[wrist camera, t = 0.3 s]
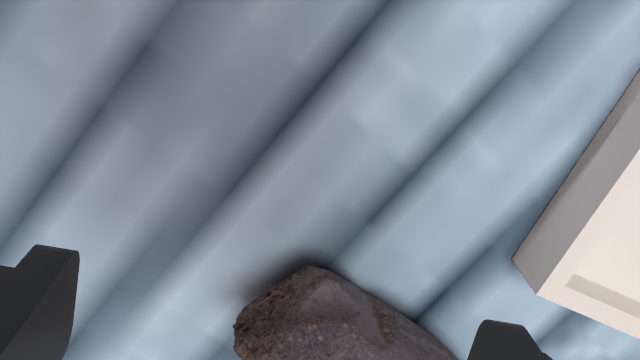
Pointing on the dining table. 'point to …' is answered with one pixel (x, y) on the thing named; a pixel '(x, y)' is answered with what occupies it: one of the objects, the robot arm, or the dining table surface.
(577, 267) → the tray
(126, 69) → the dining table surface
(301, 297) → the perforated stone tool
